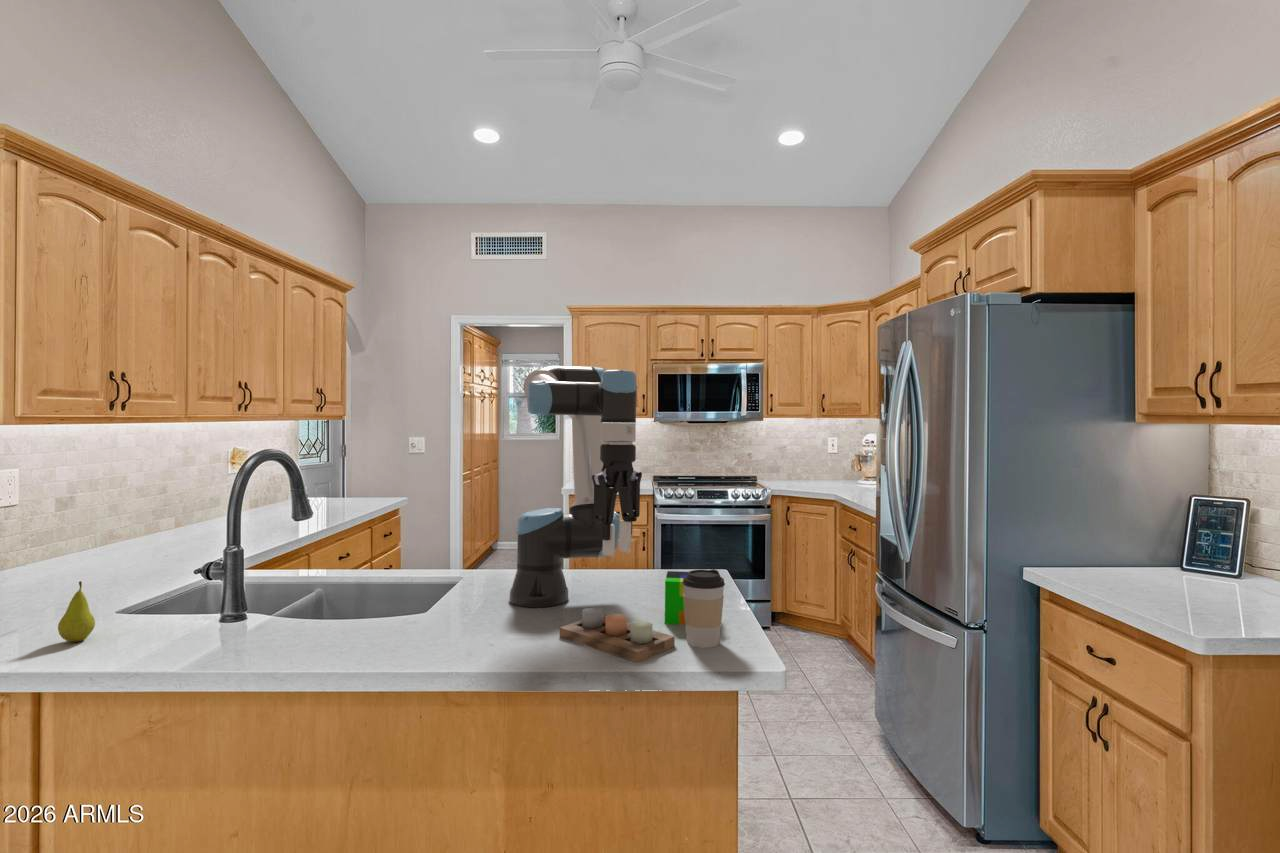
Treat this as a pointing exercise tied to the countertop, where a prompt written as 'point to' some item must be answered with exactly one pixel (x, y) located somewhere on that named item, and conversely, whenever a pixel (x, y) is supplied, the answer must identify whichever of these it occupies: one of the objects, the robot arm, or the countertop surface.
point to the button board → (617, 641)
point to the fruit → (76, 619)
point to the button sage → (641, 632)
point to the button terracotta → (616, 625)
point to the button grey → (592, 618)
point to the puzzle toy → (674, 598)
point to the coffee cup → (703, 607)
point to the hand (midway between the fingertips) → (616, 553)
